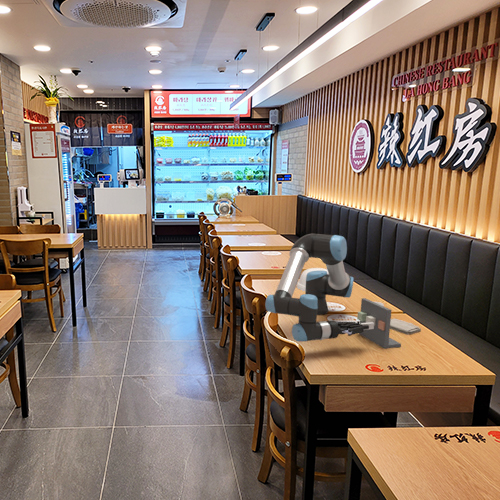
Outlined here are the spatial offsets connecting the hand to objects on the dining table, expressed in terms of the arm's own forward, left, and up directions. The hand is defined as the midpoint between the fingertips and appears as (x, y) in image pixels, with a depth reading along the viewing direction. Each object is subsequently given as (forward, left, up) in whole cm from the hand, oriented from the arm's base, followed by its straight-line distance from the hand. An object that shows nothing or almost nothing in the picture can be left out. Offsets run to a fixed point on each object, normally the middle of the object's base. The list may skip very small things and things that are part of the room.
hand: (372, 325), depth 197 cm
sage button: (-14, +4, -2) cm, 15 cm away
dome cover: (-105, +31, -11) cm, 110 cm away
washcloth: (-19, +31, -11) cm, 39 cm away
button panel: (-7, +9, -10) cm, 16 cm away
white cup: (-32, +25, -11) cm, 42 cm away
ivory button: (-7, +4, -2) cm, 8 cm away
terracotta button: (0, +6, -2) cm, 6 cm away
